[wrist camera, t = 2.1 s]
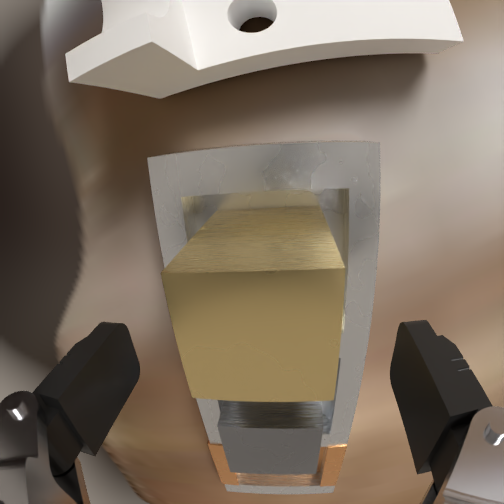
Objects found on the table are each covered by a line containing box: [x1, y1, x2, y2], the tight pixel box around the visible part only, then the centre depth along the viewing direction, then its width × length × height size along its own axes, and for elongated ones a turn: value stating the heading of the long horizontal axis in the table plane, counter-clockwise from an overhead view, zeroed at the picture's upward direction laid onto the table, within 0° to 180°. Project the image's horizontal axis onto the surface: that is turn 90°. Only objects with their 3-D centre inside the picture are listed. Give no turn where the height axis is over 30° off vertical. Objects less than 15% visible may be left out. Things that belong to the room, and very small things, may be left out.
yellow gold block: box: [161, 206, 345, 402], centre depth 11 cm, size 4×4×6 cm
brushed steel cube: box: [217, 400, 323, 475], centre depth 15 cm, size 4×4×5 cm
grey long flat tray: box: [147, 141, 380, 494], centre depth 17 cm, size 26×9×3 cm, turn 4°
